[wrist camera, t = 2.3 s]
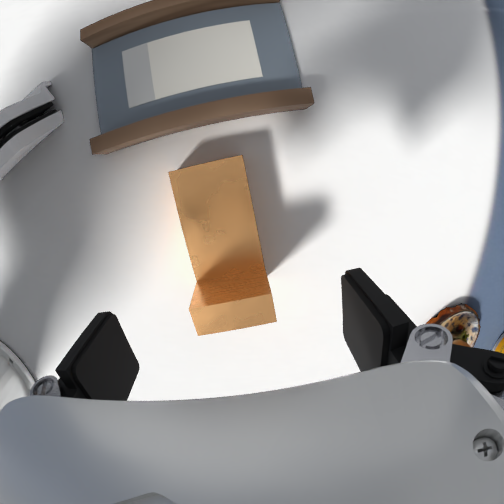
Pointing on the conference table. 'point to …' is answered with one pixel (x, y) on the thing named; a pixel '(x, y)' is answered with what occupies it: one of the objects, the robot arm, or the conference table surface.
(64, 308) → the conference table surface
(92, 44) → the bay walls
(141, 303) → the conference table surface
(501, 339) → the beer can
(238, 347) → the conference table surface
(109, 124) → the bay mat
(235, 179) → the bracket
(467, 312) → the burger
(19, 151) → the grey slotted curved block
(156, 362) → the conference table surface
